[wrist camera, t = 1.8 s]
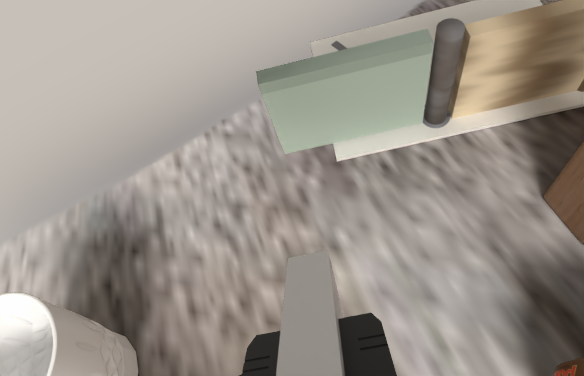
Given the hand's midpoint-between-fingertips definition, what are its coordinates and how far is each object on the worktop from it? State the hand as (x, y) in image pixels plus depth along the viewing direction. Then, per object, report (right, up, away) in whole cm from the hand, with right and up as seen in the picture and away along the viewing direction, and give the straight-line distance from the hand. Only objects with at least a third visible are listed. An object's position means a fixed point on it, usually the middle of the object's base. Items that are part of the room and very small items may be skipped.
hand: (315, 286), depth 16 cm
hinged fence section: (+4, +8, +21) cm, 23 cm away
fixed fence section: (+17, +11, +20) cm, 29 cm away
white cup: (-15, -11, +16) cm, 25 cm away
